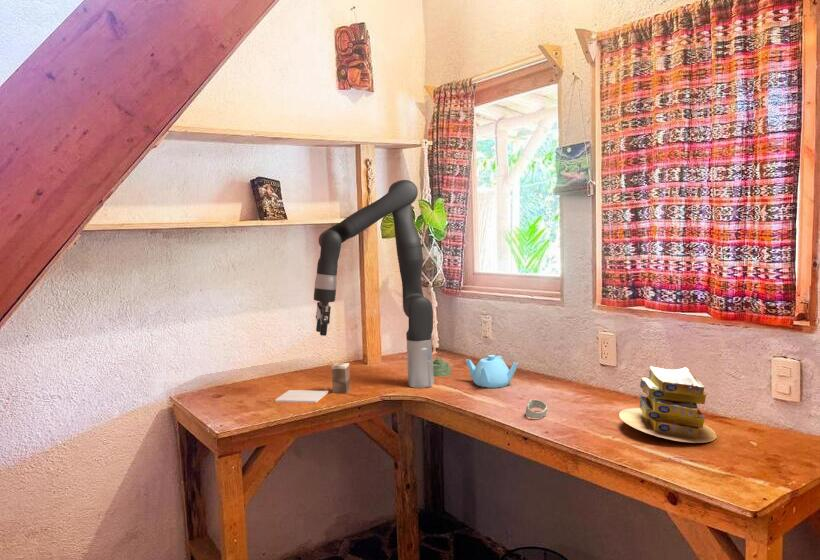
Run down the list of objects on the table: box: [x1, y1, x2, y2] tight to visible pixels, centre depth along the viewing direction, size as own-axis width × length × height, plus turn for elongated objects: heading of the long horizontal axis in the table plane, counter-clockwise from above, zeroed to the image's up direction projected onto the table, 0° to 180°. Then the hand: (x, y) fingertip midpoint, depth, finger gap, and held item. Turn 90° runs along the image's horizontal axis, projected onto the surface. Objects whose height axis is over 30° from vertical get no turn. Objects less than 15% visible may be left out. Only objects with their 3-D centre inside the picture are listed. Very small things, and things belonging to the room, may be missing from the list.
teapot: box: [465, 354, 519, 389], centre depth 225 cm, size 15×15×11 cm
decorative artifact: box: [433, 356, 452, 378], centre depth 245 cm, size 10×7×10 cm
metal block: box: [331, 362, 351, 395], centre depth 222 cm, size 5×5×10 cm
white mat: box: [274, 389, 329, 404], centre depth 217 cm, size 15×13×1 cm
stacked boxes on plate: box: [618, 365, 717, 444], centre depth 169 cm, size 25×25×17 cm
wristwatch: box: [524, 398, 548, 419], centre depth 187 cm, size 9×6×5 cm
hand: (321, 333), depth 215 cm, fingers open, 8 cm apart
